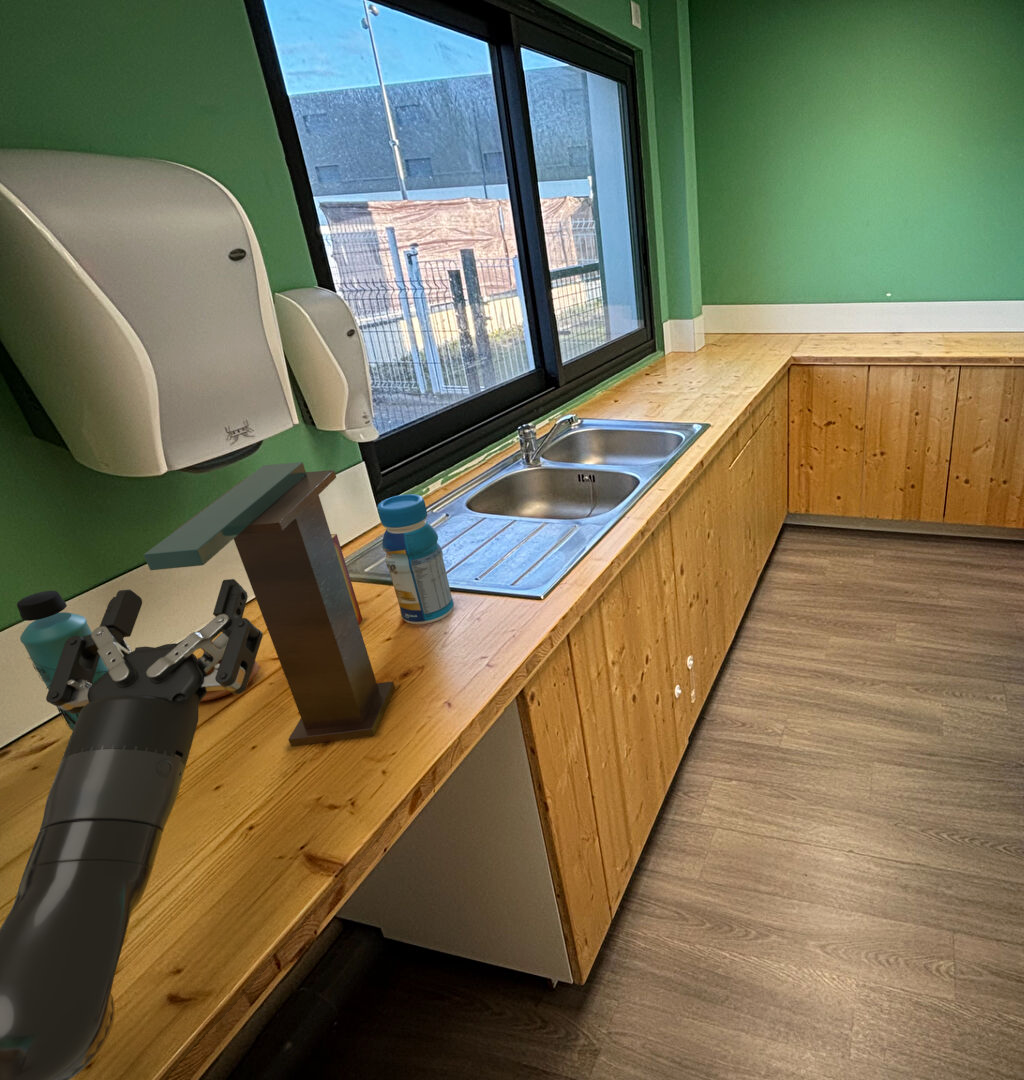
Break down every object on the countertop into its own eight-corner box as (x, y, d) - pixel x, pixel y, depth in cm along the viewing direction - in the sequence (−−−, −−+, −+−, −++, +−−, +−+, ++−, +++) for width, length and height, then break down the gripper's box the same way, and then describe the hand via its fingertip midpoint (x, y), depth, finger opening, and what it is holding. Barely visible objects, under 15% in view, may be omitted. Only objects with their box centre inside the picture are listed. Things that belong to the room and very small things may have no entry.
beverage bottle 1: (112, 708, 96) (46, 580, 87) (148, 715, 94) (85, 586, 86) (61, 739, 90) (-15, 607, 82) (98, 748, 89) (25, 613, 80)
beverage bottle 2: (452, 622, 113) (424, 508, 104) (396, 630, 111) (364, 515, 103) (458, 596, 120) (433, 488, 112) (406, 603, 119) (377, 494, 110)
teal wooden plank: (267, 477, 83) (263, 465, 82) (306, 474, 84) (302, 461, 83) (149, 570, 62) (142, 554, 61) (203, 565, 62) (197, 549, 61)
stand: (322, 692, 97) (246, 476, 84) (397, 683, 99) (334, 469, 85) (273, 775, 83) (172, 531, 69) (361, 764, 84) (279, 522, 70)
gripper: (58, 796, 56) (124, 617, 65) (248, 771, 57) (287, 600, 66) (-21, 767, 49) (65, 574, 59) (195, 741, 51) (246, 557, 60)
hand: (183, 588), depth 62 cm, fingers open, 8 cm apart
